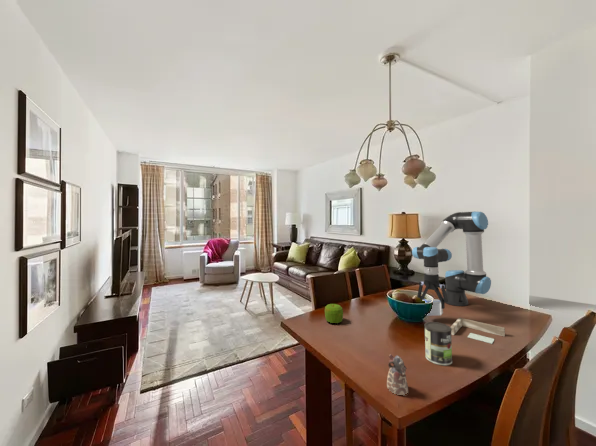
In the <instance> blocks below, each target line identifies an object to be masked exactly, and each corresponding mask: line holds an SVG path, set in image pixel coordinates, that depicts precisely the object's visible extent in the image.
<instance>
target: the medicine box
mask: <svg viewBox="0 0 596 446" xmlns="http://www.w3.org/2000/svg"><path fill="white" fill-rule="evenodd" d="M431 299H433V305H432V309H431V311H430V313H428V314H427V315H426V316H430V317H431V316H432V317H434V316H441V315H440V302H441V301H440V299H439V298H424V301H425V303H429V302H431V301H432V300H431Z"/></svg>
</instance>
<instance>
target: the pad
mask: <svg viewBox="0 0 596 446" xmlns="http://www.w3.org/2000/svg"><path fill="white" fill-rule="evenodd" d="M467 338H468V339H469V338H470V339H472V340H476V341H481V342H484V343H488V344H491V345H493V343H494V341H495V338H493V337H487V336H485V335H480V334H478V333H477V334H476V333H473V332H470V333H469V334H468V335H467Z"/></svg>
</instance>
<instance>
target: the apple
mask: <svg viewBox="0 0 596 446" xmlns="http://www.w3.org/2000/svg"><path fill="white" fill-rule="evenodd" d="M343 309H344V308H343V307H342V306H341V305H340V304H338V303H329V304H327V305H326V306H324V316H325V320H326V322H328V323H329V322H330V323H329V324H331V323H337V324H339V323H341V322H343V319H344V310H343Z"/></svg>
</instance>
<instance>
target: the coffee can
mask: <svg viewBox="0 0 596 446" xmlns="http://www.w3.org/2000/svg"><path fill="white" fill-rule="evenodd" d="M451 331H452V329H451V326H450V325H447V324H445V323H442V322H438V321H427V322H425V323H424V340H425V341H424V346H425V347H424V348H425V350H424V352H425V359H426V360H427V361H429V362H430V363H432V364H434V365H438V366H450V365H452V364H453V350H452V348H453V347H452V346H453V345H452V335H451Z"/></svg>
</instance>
